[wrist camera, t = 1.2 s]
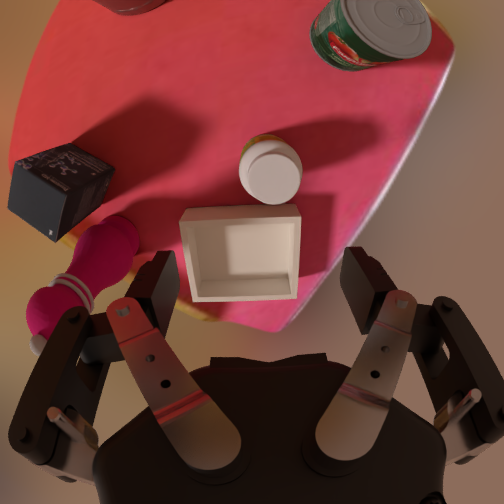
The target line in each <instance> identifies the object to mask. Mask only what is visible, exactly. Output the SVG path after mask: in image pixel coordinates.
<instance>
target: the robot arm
mask: <svg viewBox="0 0 504 504" xmlns="http://www.w3.org/2000/svg"><path fill="white" fill-rule="evenodd" d="M93 1H95V2H97V3H99V4H100V5H102V6H104V7H106V8H108V9H109V10H111V11H113V12H115V13H117V14H120V15H125V16H126V15H137V14H141V13H144V12H147V11H150V10H151V9H154V8H156V7H157V6H159V5H160V4H162V3H163V2H165V1H166V0H93ZM340 284H341V288H342V290H343V292H344V295H345V297H346V299H347V301H348V304H349V306H350V308H351V311H352V313H353V315H354V317H355V320H356V322H357V325H358V327H359V329H360V332H361V334H362V335H365V334H368V336H367V338H366V340H365V342H364V344H363V346H362V348H361V350H360V353H359V355H358V357H357V358H356V361H355V362H354V364H353V366H352V368H350V367H348V366H345V365H343V364H340V363H337V362H332V361H328V360H327V356H326V353H317V354H305V355H297V356H293V357H289V358H285V359H282V360H278V361H274V362H262V361H257V360H251V359H246V358H240V357H211V360H210V365H209V366H205V367H201V368H199V369H196V370H193V371H191V372H190V373H188V371H187V370H186V369H185V367H184V366H183V365H182V363H181V362H180V361H179V359H178V358H177V356H176V355H175V353H174V352H173V351H172V349H171V348H170V346H169V345H168V343H167V342H166V340H165V336H166V333H167V329H168V326H169V322H170V319H171V315H172V312H173V309H174V306H175V303H176V299H177V296H178V293H179V289H180V279H179V274H178V268H177V263H176V257H175V253H174V251H173V250H168V251H157V253H156V255H155V256H154V258H153V260H152V261H147V262H146V263H145V264H144V265H142V266H141V267H140V269H139V271H138V272H137V275H136V276H135V278H134V281H132V283H131V285H130V287H129V289H128V291H127V292H126V294H125V296H124V298H120V299H117V300H115V301H113V302H112V303H111V304H110V305H109V306H108V308H107V310H106V312H104V313H99V314H94V315H90V314H89V311H88V309H87V308H86V307H84V306H75V307H72V308H70V309H68V310H67V311H65V312H64V313H63V314H62V316H61V318H60V319H59V321H58V323H57V325H56V326H55V328H54V330H53V332H52V334H51V335H50V337H49V339H48V341H47V343H46V345H45V347H44V349H43V351H42V353H41V354H40V356H39V358H38V361H37V363H36V365H35V367H34V369H33V371H32V373H31V375H30V377H29V380H28V382H27V384H26V386H25V389H24V391H23V393H22V396H21V398H20V401H19V403H18V406H17V409H16V411H15V414H14V416H13V419H12V422H11V425H10V428H9V433H8V438H9V442H10V445H11V446H12V448H13V449H14V450H15V451H16V452H18V453H19V454H21V455H22V456H24V457H25V458H27V459H28V460H29V461H30V462H31V463H32V464H34V465H36V466H37V467H39V468H40V469H42V470H44V471H45V472H47V473H49V474H51V475H53V476H56V477H58V478H59V479H61V480H63V481H65V482H75V481H77V480H78V481H81V482H84V483H88V484H91V485H94V486H96V489H97V492H98V496H99V500H100V504H447V503H446V502H445V499H444V496H443V475H444V469H445V466H446V465H449V464H451V463H456V464H459V465H460V464H465V463H467V462H469V461H470V460H472V459H473V458H475V457H476V456H478V455H479V454H480V453H482V452H483V451H485V450H486V449H487V448H489V447H490V446H491V445H493V444H494V443H495V442H497V441H498V440H499V439H500V438H502V437H503V436H504V380H503V378H502V376H501V374H500V372H499V370H498V368H497V366H496V365H495V363H494V361H493V359H492V357H491V356H490V354H489V352H488V351H487V349H486V347H485V345H484V344H483V342H482V340H481V339H480V337H479V335H478V334H477V332H476V331H475V329H474V328H473V326H472V325H471V323H470V321H469V320H468V318H467V317H466V315H465V314H464V312H463V311H462V310H461V308H460V307H459V305H458V304H457V303H456V302H455V301H454V300H452V299H450V298H448V297H445V296H439V297H436V298H435V299H434V301H433V304H432V306H431V305H423V304H417V301H416V299H415V298H414V297H413V296H412V295H411V294H410V293H408V292H406V291H402V290H398V289H397V287H396V286H395V284H394V283H393V281H392V280H391V278H390V277H389V275H387V273H386V271H385V270H384V269H383V267H382V265H381V264H380V262H378V261H377V260H375V259H374V258H373V257H371V256H368V255H367V254H366V252H365V251H364V249H363V248H362V247H346V248H345V250H344V256H343V262H342V267H341V273H340ZM444 342H445V344H446V346H447V347H448V349H449V352H450V358H449V360H448V358H447V356H446V354H445V352H444V350H443V348H442V346H443V344H444ZM407 352H413V355H414V357H415V359H416V362H417V364H418V367H419V369H420V372H421V374H422V377H423V379H424V381H425V384H426V387H427V389H428V392H429V395H430V398H431V400H432V403H433V406H434V409H435V412H436V415H435V417H434V426H433V425H432V424H430V423H429V422H427V421H426V420H424V419H423V418H421V417H420V416H418V415H417V414H416V413H414V412H413V411H411V410H410V409H408V408H407V407H405V406H404V405H403V404H401V403H400V402H398V401H397V400H396V399H394V398H393V397H392V396H393V393H394V390H395V388H396V385H397V382H398V379H399V376H400V373H401V371H402V367H403V364H404V361H405V358H406V355H407ZM79 356H80V358H79ZM78 358H79V361H78V363H77V360H78ZM122 360H126V362H127V365H128V366H129V369H130V371H131V373H132V375H133V377H134V379H135V381H136V383H137V385H138V387H139V388H140V390H141V392H142V394H143V396H144V398H145V400H146V401H147V403H148V405H149V406H148V407H147V408H146V409H144V410H143V411H142V412H141V413H139V414H138V415H137V416H136V417H135V418H134V419H132V420H131V421H130V422H129V423H127V424H126V425H125V426H124V427H122V428H121V429H120V430H119V431H117V432H116V433H115V434H114V435H112V436H111V437H110V438H109V439H107V440H106V441H105V442H104V443H103V444H102V445H101V446H100V447H99V446H98V434H97V432H96V430H95V429H94V428H93V423H94V418H95V414H96V411H97V407H98V404H99V400H100V397H101V393H102V389H103V386H104V383H105V380H106V376H107V373H108V370H109V367H110V364H111V362H116V361H122ZM76 363H77V366H76Z"/></svg>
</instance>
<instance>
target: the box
mask: <svg viewBox="0 0 504 504" xmlns="http://www.w3.org/2000/svg"><path fill="white" fill-rule="evenodd" d="M114 171H115V168H114V167H112V166H110V165H108V164H107V163H105V162H103V161H101V160H99V159H98V158H96V157H94V156H92V155H91V154H89V153H87V152H85V151H83V150H82V149H80V148H78V147H76V146H75V145H73V144H71V143H68V144H64V145H61V146H58V147H55V148H52V149H49V150H46V151H43V152H40V153H37V154H35V155H32V156H29V157H27V158H24V159H21V160H18V161H16V162H15V165H14V170H13V175H12V180H11V186H10V193H9V200H8V209H9V210H10V211H11V212H13V213H14V214H16V215H18V216H19V217H20V218H22V219H23V220H24V221H26V222H27V223H28V224H30V225H31V226H32V227H34V228H36V229H37V230H38V231H40V232H41V233H42V234H44V235H45V236H47V237H48V238H49V239H51V240H52V241H54V242H55V243H56V242H57V241H58V240H59V239H60V238H62V237H63V236H64V235H65V234H66V233H67V232H69V231H70V230H71V229H72V228H73V227H75V226H76V225H77V224H78V223H80V222H81V221H82V220H83V219H84V218H86V217H87V216H88V215H90V214H91V213H92V212H94V211H95V210H96V209H97V208H99V207H100V206H101V204H102V201H103V199H104V196H105V193H106V191H107V188H108V186H109V183H110V181H111V178H112V176H113V173H114Z"/></svg>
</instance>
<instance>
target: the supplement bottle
mask: <svg viewBox="0 0 504 504" xmlns="http://www.w3.org/2000/svg"><path fill="white" fill-rule="evenodd" d="M302 172H303V169H302V163H301V160H300V158H299V156H298V154H297V153H296V152H295V150H294V149H293V148H292V147H291V146H289V145H288V144H287V143H286V142H285V141H284V140H282V139H281V138H279V137H277V136H275V135H271V134H262V135H258V136H255V137H253V138H252V139H250V140H249V141H248V142H247V143H246V145H245V146H244V148H243V150H242V153H241V158H240V164H239V176H240V180H241V183H242V185H243V187H244V188H245V190H246V191H247V192H248V193H249V194H250V195H252V196H253V197H255V198H257V199H258V200H259V201H261V202H263V203H266V204H273V205H275V204H281V203H284V202H286V201H288V200H290V199H291V198H292V197H293V196H294V195H295V194H296V192H297V191H298V189H299V186H300V182H301V179H302Z"/></svg>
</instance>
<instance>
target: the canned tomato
mask: <svg viewBox="0 0 504 504" xmlns="http://www.w3.org/2000/svg"><path fill="white" fill-rule="evenodd" d="M309 34H310V41H311V45H312V47H313V49H314V51H315V52H316V53H317V55H318V56H319V57H320V58H321V59H322V60H323V61H324V62H326V63H327V64H329V65H330V66H332V67H334V68H336V69H339V70H343V71H359V70H363V69H365V68H369V67H373V66H377V65H381V64H385V63H389V62H393V61H398V60H403V59H409V58H414V57H417V56H419V55H421V54H422V53H423V52H425V51H426V50H427V48H428V46H429V45H430V42H431V38H432V28H431V22H430V19H429V16H428V14H427V12H426V10H425V8H424V6H423V5H422V4H421V2H420V1H419V0H331V1H330V2H329V3H328V4H327V6H326V7H325V8H324V9H323V10H322V11H321V13H320V14H319V15H318V16H317V17H316V18H315V19H314V21H313V22H312V24H311V27H310V32H309Z"/></svg>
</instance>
